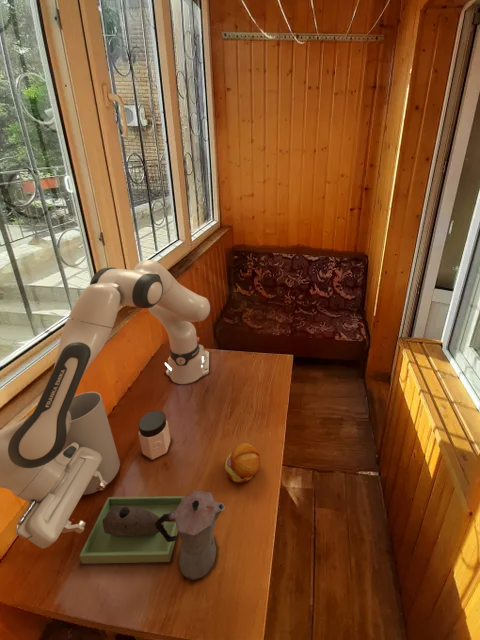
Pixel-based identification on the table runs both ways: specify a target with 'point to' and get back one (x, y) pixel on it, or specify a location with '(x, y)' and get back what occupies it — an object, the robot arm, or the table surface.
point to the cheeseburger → (242, 463)
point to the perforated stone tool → (130, 522)
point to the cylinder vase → (93, 434)
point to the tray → (132, 548)
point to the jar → (154, 434)
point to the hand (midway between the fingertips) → (94, 506)
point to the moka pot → (194, 532)
